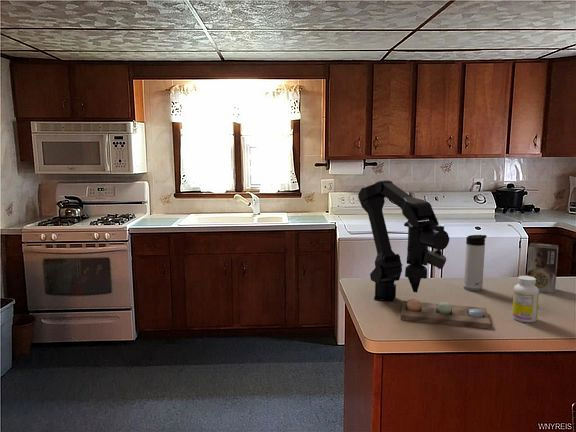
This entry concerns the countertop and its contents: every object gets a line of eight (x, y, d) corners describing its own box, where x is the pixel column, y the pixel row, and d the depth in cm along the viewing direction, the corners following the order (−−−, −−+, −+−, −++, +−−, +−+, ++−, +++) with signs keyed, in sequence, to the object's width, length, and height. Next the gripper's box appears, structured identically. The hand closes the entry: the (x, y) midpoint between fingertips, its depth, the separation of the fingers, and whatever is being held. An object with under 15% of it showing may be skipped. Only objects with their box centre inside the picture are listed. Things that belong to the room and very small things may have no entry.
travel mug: (481, 292, 162) (484, 237, 159) (461, 289, 166) (464, 235, 162) (484, 288, 167) (487, 234, 164) (465, 285, 171) (468, 232, 168)
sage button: (437, 313, 140) (437, 305, 139) (437, 308, 144) (437, 301, 143) (451, 314, 139) (451, 307, 138) (450, 310, 142) (451, 302, 142)
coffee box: (555, 288, 166) (559, 245, 163) (554, 293, 160) (558, 248, 158) (527, 284, 171) (530, 242, 168) (525, 289, 165) (528, 245, 163)
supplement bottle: (524, 313, 143) (527, 273, 141) (541, 321, 136) (545, 279, 134) (506, 316, 141) (509, 275, 138) (524, 324, 134) (527, 282, 132)
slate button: (468, 320, 137) (469, 312, 137) (467, 315, 141) (468, 308, 141) (483, 321, 136) (483, 314, 136) (481, 316, 140) (482, 309, 140)
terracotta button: (406, 310, 142) (407, 303, 142) (407, 306, 146) (407, 298, 146) (420, 311, 141) (420, 304, 141) (420, 307, 145) (420, 300, 145)
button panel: (400, 319, 139) (401, 315, 138) (403, 305, 151) (403, 300, 151) (490, 328, 132) (491, 323, 131) (485, 312, 144) (485, 307, 144)
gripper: (446, 251, 129) (444, 304, 132) (443, 237, 147) (441, 284, 149) (405, 249, 132) (404, 301, 135) (407, 236, 150) (406, 282, 152)
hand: (415, 292), depth 143 cm, fingers closed
